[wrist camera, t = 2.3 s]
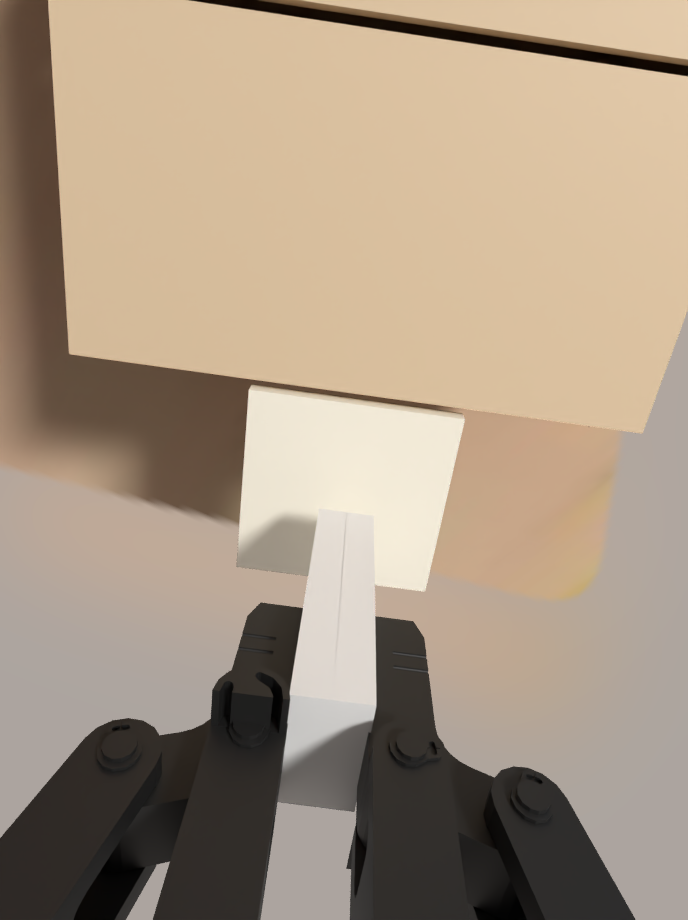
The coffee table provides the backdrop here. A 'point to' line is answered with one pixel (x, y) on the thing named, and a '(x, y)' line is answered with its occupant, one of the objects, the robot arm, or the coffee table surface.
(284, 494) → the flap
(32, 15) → the coffee table surface
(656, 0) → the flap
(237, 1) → the carton
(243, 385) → the coffee table surface
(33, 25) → the coffee table surface
